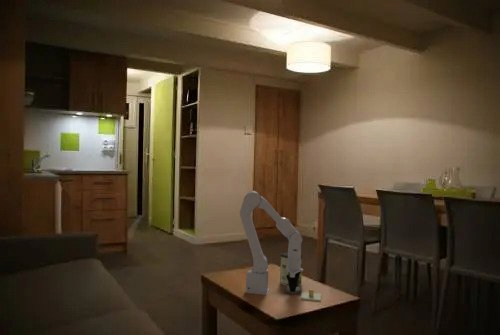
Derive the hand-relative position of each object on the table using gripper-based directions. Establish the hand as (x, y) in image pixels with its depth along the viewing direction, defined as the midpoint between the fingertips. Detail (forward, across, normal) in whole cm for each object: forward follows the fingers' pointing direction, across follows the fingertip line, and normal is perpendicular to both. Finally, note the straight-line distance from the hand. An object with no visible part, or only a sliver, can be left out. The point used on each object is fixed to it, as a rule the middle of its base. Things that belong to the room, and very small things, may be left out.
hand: (293, 289), depth 167 cm
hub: (+1, -5, -8) cm, 10 cm away
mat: (+1, 0, 0) cm, 1 cm away
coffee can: (+2, +13, +2) cm, 13 cm away
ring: (+1, 0, 0) cm, 1 cm away
